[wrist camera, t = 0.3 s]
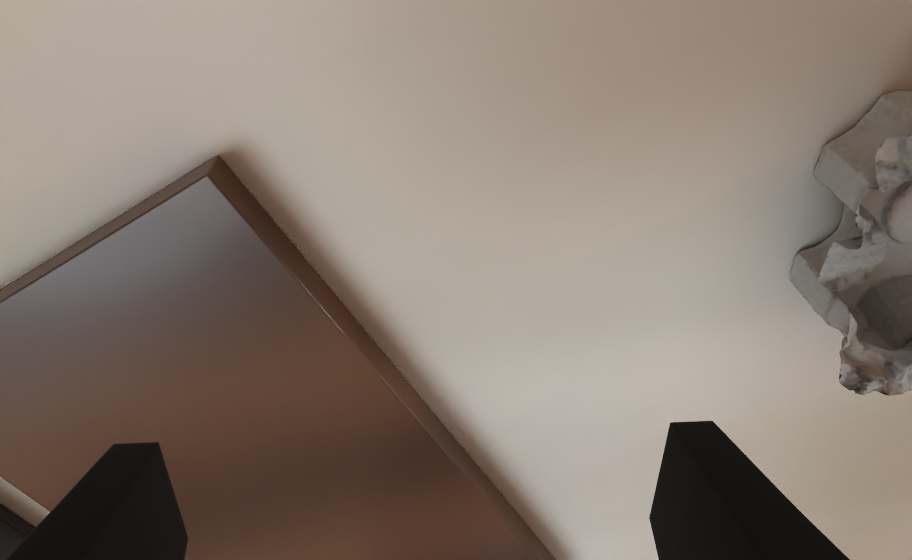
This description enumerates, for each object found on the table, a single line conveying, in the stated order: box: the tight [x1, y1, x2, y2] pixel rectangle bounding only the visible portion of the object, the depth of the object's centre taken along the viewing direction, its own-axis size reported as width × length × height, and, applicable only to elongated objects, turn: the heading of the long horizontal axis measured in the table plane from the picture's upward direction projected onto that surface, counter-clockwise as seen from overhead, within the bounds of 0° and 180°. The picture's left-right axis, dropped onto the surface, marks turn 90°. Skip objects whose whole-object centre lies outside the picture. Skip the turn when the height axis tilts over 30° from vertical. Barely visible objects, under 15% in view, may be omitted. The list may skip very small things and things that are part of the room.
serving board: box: [0, 156, 555, 560], centre depth 24 cm, size 20×12×1 cm, turn 30°
